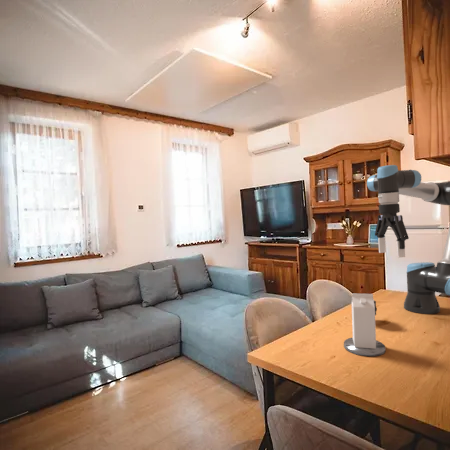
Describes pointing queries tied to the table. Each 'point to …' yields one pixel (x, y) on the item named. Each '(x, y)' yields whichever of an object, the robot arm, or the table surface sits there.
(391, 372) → the table surface
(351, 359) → the table surface
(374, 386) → the table surface
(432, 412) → the table surface
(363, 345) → the milk carton
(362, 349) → the duct flange
